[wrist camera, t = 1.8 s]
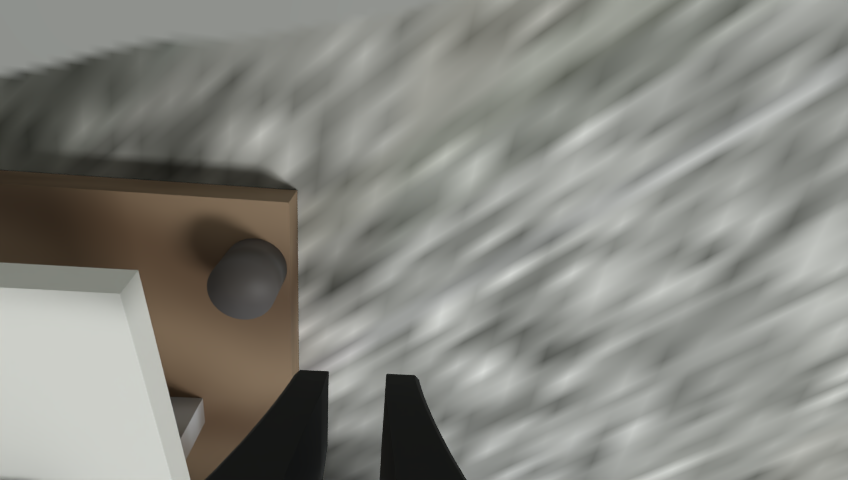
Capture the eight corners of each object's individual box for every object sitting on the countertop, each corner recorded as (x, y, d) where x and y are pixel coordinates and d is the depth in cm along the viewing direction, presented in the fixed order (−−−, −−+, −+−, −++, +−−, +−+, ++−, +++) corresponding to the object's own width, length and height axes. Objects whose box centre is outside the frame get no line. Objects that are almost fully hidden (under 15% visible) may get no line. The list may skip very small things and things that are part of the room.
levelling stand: (300, 537, 26) (282, 625, 22) (-39, 530, 25) (-120, 621, 21) (297, 190, 19) (270, 229, 15) (-169, 158, 18) (-323, 192, 14)
